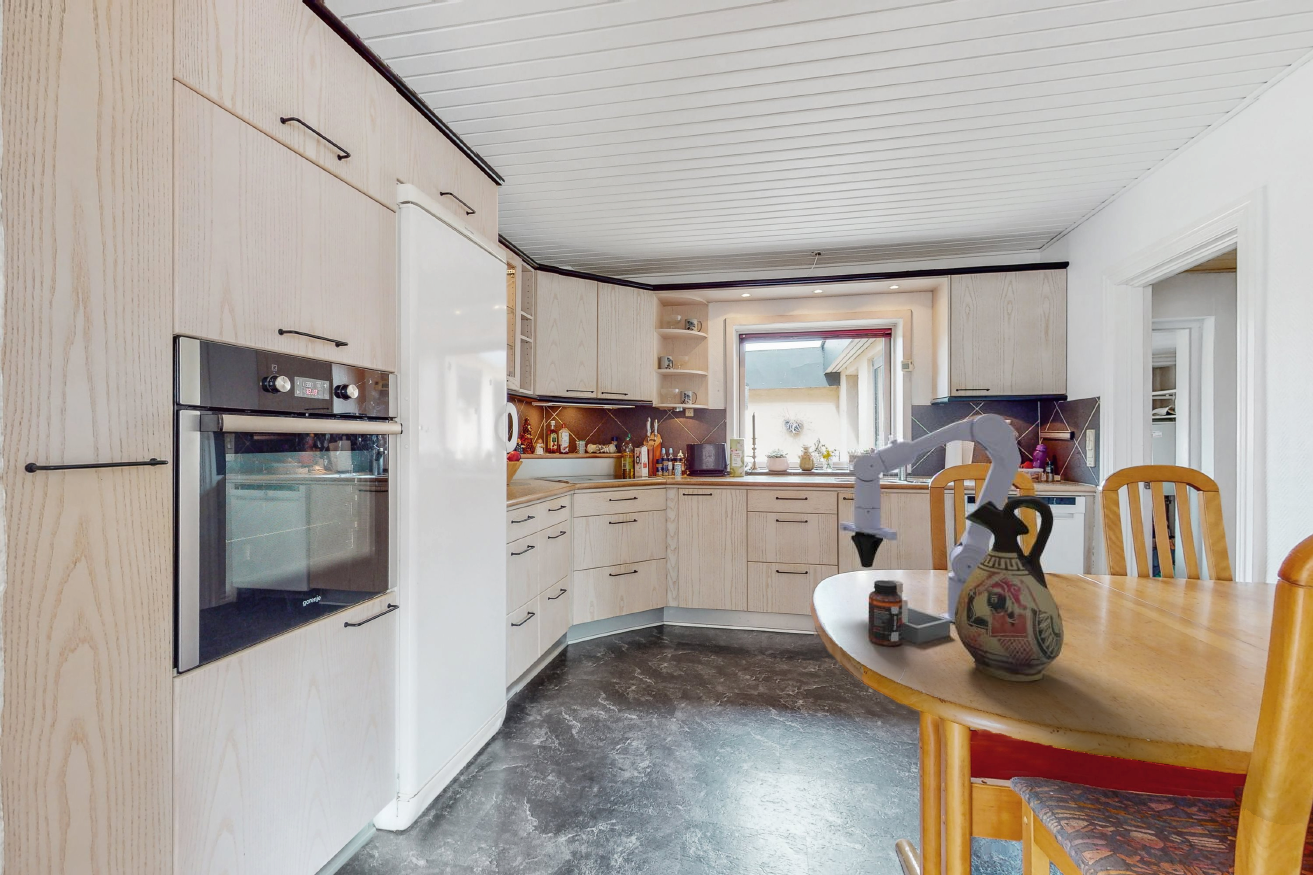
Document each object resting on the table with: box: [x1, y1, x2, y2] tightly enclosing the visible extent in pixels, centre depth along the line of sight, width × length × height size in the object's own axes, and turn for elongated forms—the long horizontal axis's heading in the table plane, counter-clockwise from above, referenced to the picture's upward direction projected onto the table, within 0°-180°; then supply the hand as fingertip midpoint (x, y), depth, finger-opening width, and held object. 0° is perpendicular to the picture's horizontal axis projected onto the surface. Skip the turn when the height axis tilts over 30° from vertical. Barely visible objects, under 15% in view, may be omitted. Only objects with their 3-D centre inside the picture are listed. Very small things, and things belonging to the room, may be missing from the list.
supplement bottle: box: [867, 579, 903, 647], centre depth 106 cm, size 6×6×11 cm
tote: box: [902, 606, 951, 645], centre depth 111 cm, size 10×11×3 cm
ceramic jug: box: [954, 494, 1065, 682], centre depth 92 cm, size 17×15×30 cm
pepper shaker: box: [886, 579, 909, 623], centre depth 113 cm, size 4×4×10 cm
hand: (866, 566), depth 126 cm, fingers closed
